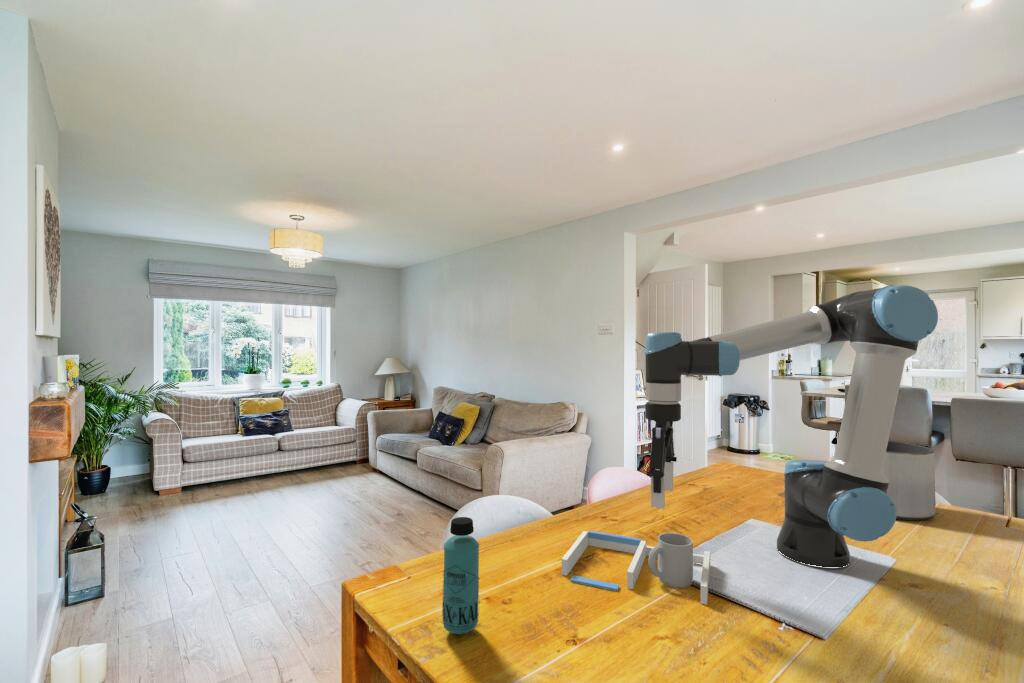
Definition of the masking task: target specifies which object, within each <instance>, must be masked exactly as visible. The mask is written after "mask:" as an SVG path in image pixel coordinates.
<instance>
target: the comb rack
mask: <svg viewBox="0 0 1024 683" xmlns="http://www.w3.org/2000/svg"><path fill="white" fill-rule="evenodd" d="M588 546H589V547H590V546H591V547H597V548H601V549H607V550H613V551H619V552H624V553H629V554H634V555H633V558H632V560H631V561H630V564H629V566H628V569H627V570H626V589H628V590H634V588H635V585H636V582H637V581H638V578H639V575H640V572H641V570H642V568H643V565H644V562H645V559H646V557H647V556H648V557H649V554H650V552H651V550H652V549H653V547H654V546H651V545H647V541H646V540H643V539H642V538H638V537H632V536H626V535H621V534H614V533H613V534H612V533H607V532H600V531H594V530H588V531H586V530H583V531H582V532H581V533H580V535H579V536H578V537H577V539H576V540H575V541H574V542H573V544H572V545H571V546H570V547H569V549H568V550H567V552H566V553H565V554H564V555H563V557H562V558H561V575H562V576H566V577H567V576H568V575H569V574H570V572H571V570H573V568H574V566H575V565H576V563H577V562H578V561H579V559H580V557H581V556H582V555H583V554H584V553H585V551H586V549H587V548H588ZM703 552H704V553H703V554H698V553H693V562H695V563H701V564H703V565H702V570H701V579H700V604H702V605H706V606H707V605H708V597H709V587H708V585H709V584H710V575H709V573H710V572H711V551H710V550H704V551H703ZM657 559H658V556H657ZM570 582H571V583H575V584H580V585H584V586H590V587H594V588H598V589H602V590H603V589H604V590H608V591H611V592H612V591H613V592H618V590H619V588H620V584H616V583H614V582H607V581H603V580H597V579H593V578H589V577H588V578H587V577H583V576H577V575H575V574H574V575H572V576H571V579H570Z"/></svg>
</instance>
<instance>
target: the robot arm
mask: <svg viewBox="0 0 1024 683" xmlns="http://www.w3.org/2000/svg"><path fill="white" fill-rule="evenodd" d="M938 313H939V312H938V307H937V306H936V303H935V301H934V300H933V299H931V298H930V296H929V294H928V293H927V292H926V291H924V290H922V289H921V288H918V287H916V286H912V285H902V284H901V285H887V286H883V287H879V288H874V289H867V290H860V291H854V292H851V293H849V294H846V295H843V296H840V297H837V298H835V299H832V300H828V301H826V302H823V303H820V304H816V305H813V306H810V307H808V308H807V309H806V311H805V312H801V313H798V314H794V315H793V314H792V315H789V316H786V317H782V318H781V317H780V318H779V319H778V318H777V319H773V320H769V321H766V322H762V323H758V324H754V325H749V326H746V327H742V328H737V329H734V330H730V331H725V332H722V333H719V334H713V335H711V336H710V335H709V336H707V337H702V338H698V339H694V340H690V341H688V340H683V338H682V334H681V333H680V332H676V331H675V332H674V331H673V332H672V331H670V332H669V331H661V332H660V331H655V332H654V331H652V332H650V333H648V334H647V335H646V338H645V352H644V356H645V385H643V387H642V390H643V391H646V392H645V400H646V401H647V402H646V403H645V404H644V406H645V407H644V408H645V409H644V410H645V412H644V418H645V419H646V420H648V421H654V422H655V425H654V427H652V429H651V446H650V447H651V448H650V459H649V460H650V461H649V470H648V471H646V476H647V477H650V507H651V508H656V509H663V510H665V508H666V491H669V492H674V462H675V463H676V462H677V461H678V460H677V458H678V457H677V456H675V455H676V454H675V445H674V428H673V425H674V423H675V422H679V421H680V420H681V419H682V405H681V404H680V403H679V402H681V401H682V376H718V377H722V376H733V375H735V374H736V373H737V371H738V369H739V367H740V363H741V362H740V361H743V360H746V359H752V358H755V357H760V356H764V355H767V354H771V353H772V354H773V353H775V352H781V351H783V350H784V351H785V350H787V349H791V348H792V349H793V348H797V347H801V346H805V345H808V344H809V345H810V344H813V343H817V344H819V345H826V344H830V343H836V342H837V343H838V342H849V345H850V347H851V348H852V349H853V351H855V357H854V363H853V366H852V370H851V371H852V372H851V377H850V381H849V385H848V390H847V395H846V400H845V404H844V409H843V413H842V418H841V424H840V427H839V434H838V438H837V441H836V442H837V443H836V447H835V452H834V456H833V458H832V459H831V460H821V459H820V460H818V459H789V460H788V461H786V463H785V465H784V472H783V476H784V520H783V523H782V526H781V528H780V529H779V530H780V531H779V534H778V536H777V538H776V550H777V549H778V550H777V551H780V552H781V553H782V554H784V555H785V556H787V557H789V558H791V559H793V560H795V561H798V562H802V563H805V564H810V565H816V566H822V567H843V566H846V565H848V564H849V563H850V564H851V555H850V554H851V552H850V550H849V547H848V545H847V541H846V540H845V537H847V538H849V539H850V540H854V541H857V542H873V541H877V540H878V539H880V537H885V535H887V534H888V533H889V532H890V531H891V530H892V529H893V528H894V525H895V523H896V520H897V519H896V515H897V513H896V507H895V505H894V504H893V502H892V499H891V498H890V497H889V496H888V495H887V489H888V485H889V480H888V479H887V477H886V476H885V475H884V474H883V472H882V468H883V464H884V459H885V454H886V449H887V445H888V440H889V438H890V435H891V429H892V427H893V426H892V425H893V422H894V421H893V420H894V416H895V411H896V405H897V403H898V402H897V401H898V396H899V393H900V392H899V391H900V388H901V387H900V386H901V382H902V376H903V371H904V368H905V364H906V360H907V359H909V358H911V357H912V356H915V355H916V354H917V352H918V351H917V350H918V346H919V342H920V341H922V340H923V339H925V338H927V337H928V336H929V335H931V334H932V333H933V332H934V331H935V329H936V327H937V325H938V321H939V314H938ZM889 441H890V440H889ZM795 561H794V562H795ZM798 562H797V563H798ZM850 564H849V565H850ZM849 565H848V566H849Z"/></svg>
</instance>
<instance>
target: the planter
mask: <svg viewBox="0 0 1024 683" xmlns="http://www.w3.org/2000/svg"><path fill="white" fill-rule="evenodd" d="M935 461H936V460H935V450H934V449H933V448H930V447H927V446H924V445H919V444H915V443H910V442H904V441H897V440H888V445H887V449H886V454H885V459H884V464H883V468H882V472H883V474H884V475H885V476H886V477H887V479H888V480H889V485H888V489H887V495H888V496H889V497H890V498H891V499H892V502H893V504H894V505H895V507H896V513H897V515H896V520H901V521H902V520H903V521H922V520H928V519H930V518H932V517H935V515H936V508H937V507H936V505H937V504H936V476H935V474H936V470H935V469H936V466H935V464H936V462H935Z"/></svg>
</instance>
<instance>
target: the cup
mask: <svg viewBox="0 0 1024 683" xmlns="http://www.w3.org/2000/svg"><path fill="white" fill-rule="evenodd" d="M652 547H653V549H652V550H651V552H650V554H649V556H648V567H649V571H650V573H651V575H653V577H655V578H658V580H659V582H661V583H662V584H663V585H665V586H668V587H671V588H674V589H675V588H676V589H685V588H689V587H690V586H692V584H693V583H694V582H693V579H694V564H693V554H694V540H693V539H692V538H691V537H689V536H687V535H685V534H681V533H675V532H664V533H661V534H658V536H657V545H655V546H652ZM657 556H658V558H657Z"/></svg>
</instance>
